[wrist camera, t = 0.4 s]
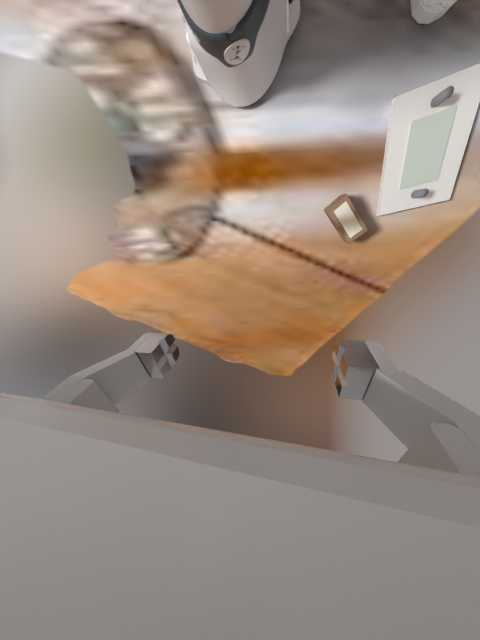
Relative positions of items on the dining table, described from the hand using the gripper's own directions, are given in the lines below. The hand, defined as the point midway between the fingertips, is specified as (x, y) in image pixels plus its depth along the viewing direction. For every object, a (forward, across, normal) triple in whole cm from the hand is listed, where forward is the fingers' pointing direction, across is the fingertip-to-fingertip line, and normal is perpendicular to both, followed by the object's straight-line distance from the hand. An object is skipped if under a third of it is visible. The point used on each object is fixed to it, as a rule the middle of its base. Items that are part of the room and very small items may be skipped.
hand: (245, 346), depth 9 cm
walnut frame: (+45, -15, -2) cm, 48 cm away
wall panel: (+45, -27, -11) cm, 54 cm away
